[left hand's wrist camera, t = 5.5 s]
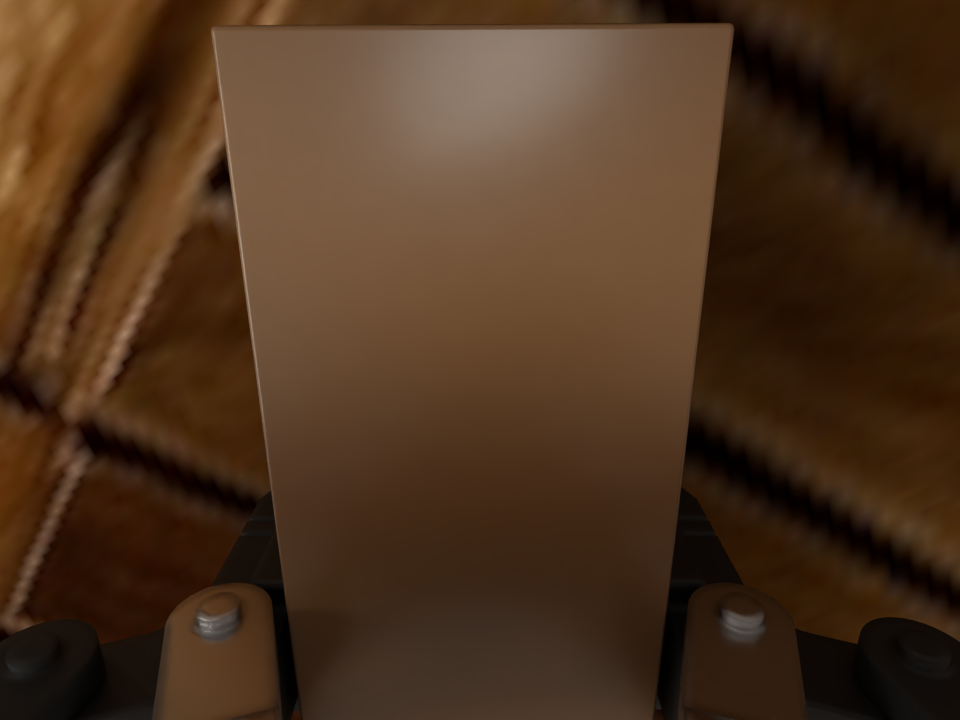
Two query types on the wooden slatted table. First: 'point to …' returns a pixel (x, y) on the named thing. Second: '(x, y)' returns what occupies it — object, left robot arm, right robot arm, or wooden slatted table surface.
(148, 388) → the wooden slatted table surface
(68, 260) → the wooden slatted table surface
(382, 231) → the post
